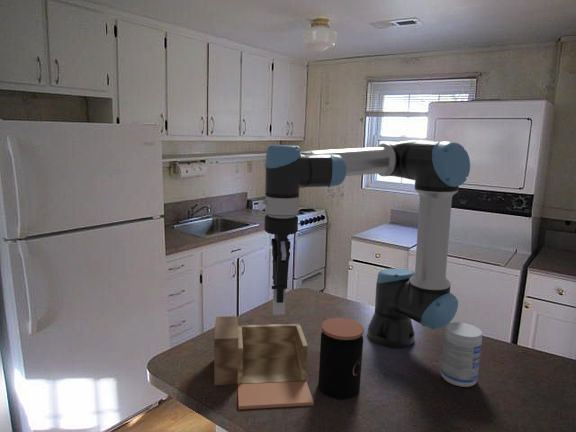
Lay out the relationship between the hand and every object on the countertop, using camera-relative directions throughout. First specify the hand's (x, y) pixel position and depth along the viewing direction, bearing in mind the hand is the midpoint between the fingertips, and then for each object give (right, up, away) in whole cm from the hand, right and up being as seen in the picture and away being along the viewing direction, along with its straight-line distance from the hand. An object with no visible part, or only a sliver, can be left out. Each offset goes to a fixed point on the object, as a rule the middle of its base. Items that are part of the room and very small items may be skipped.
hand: (278, 313), depth 100 cm
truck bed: (-6, -21, +18) cm, 28 cm away
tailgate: (-2, -21, +11) cm, 24 cm away
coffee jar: (+15, -23, +11) cm, 30 cm away
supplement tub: (+50, -23, +19) cm, 58 cm away
